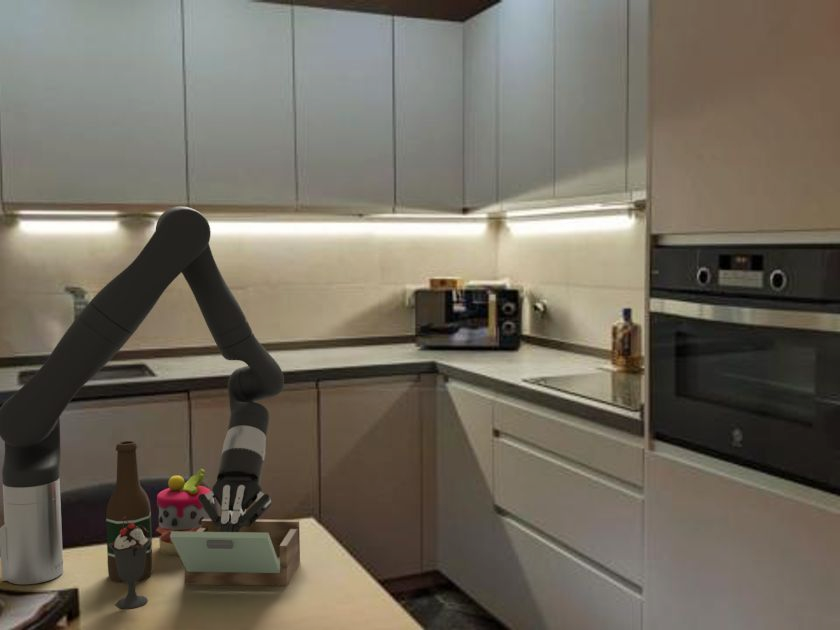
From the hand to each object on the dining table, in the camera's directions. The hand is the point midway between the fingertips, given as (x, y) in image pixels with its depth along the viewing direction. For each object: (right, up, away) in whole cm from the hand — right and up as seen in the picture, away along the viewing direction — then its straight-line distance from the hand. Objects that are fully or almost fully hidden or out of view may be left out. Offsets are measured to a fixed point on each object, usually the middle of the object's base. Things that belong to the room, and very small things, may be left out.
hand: (226, 547), depth 146 cm
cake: (-14, -7, +25) cm, 29 cm away
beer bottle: (-19, -8, +10) cm, 23 cm away
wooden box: (+1, -7, +11) cm, 13 cm away
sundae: (-15, -9, -2) cm, 18 cm away
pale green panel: (0, -5, +5) cm, 7 cm away
